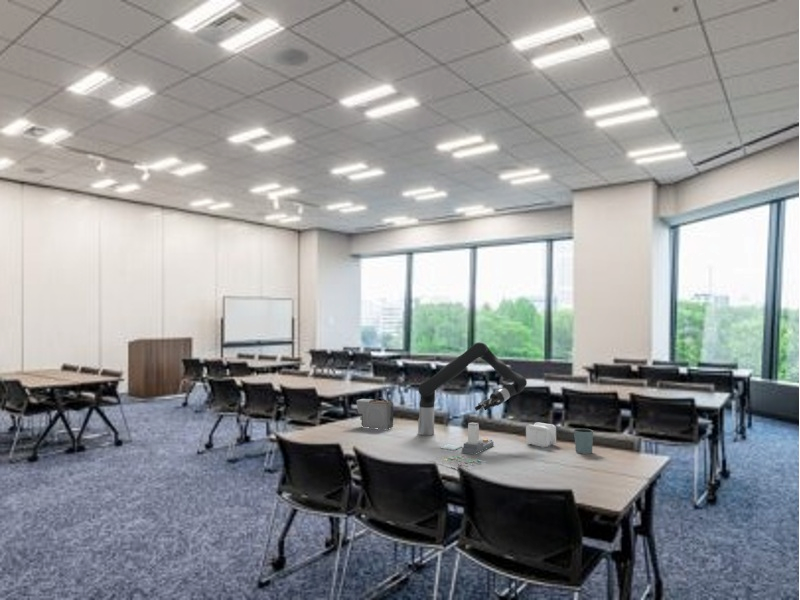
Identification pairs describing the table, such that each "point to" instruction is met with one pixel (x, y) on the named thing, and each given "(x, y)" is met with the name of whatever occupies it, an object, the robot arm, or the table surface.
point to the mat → (450, 447)
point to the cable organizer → (541, 434)
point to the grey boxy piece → (376, 413)
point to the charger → (473, 433)
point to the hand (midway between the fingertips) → (479, 408)
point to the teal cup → (583, 440)
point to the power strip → (477, 446)
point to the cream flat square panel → (464, 458)
